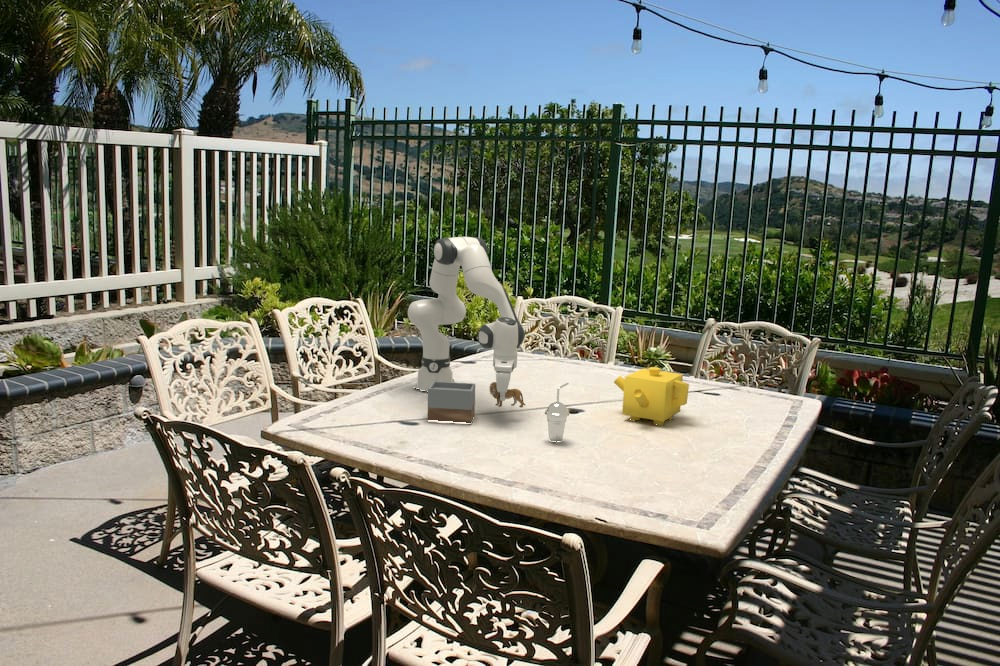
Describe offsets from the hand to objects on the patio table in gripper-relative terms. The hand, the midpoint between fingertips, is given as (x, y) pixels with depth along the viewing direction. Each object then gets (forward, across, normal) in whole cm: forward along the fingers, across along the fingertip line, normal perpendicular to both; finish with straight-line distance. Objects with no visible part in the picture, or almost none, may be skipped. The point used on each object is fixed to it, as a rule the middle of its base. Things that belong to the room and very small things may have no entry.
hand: (503, 398), depth 301 cm
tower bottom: (+9, +3, -19) cm, 21 cm away
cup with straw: (+8, +22, +20) cm, 31 cm away
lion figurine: (+3, 0, +1) cm, 3 cm away
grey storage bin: (+3, +3, -19) cm, 19 cm away
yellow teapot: (+8, -14, +55) cm, 58 cm away
